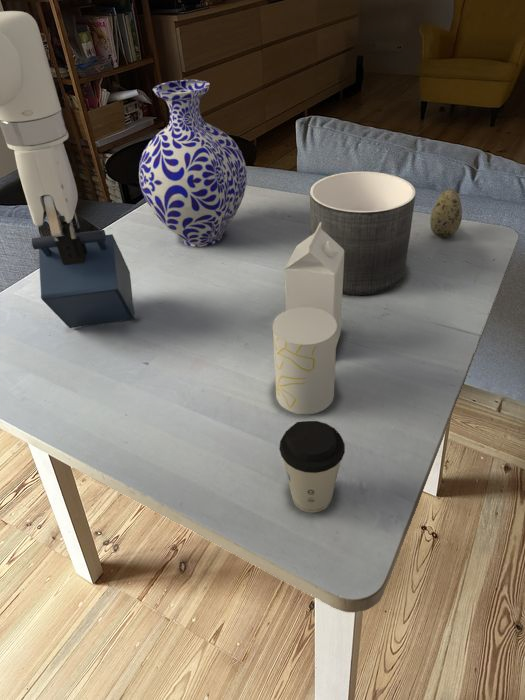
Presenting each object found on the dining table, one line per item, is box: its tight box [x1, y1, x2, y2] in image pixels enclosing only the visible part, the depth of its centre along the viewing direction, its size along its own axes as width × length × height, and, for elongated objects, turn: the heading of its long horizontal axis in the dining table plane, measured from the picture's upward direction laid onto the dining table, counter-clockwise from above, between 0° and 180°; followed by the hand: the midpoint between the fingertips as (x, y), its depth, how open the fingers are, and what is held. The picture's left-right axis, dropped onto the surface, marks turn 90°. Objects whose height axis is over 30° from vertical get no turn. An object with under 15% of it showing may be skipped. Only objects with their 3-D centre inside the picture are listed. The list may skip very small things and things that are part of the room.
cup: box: [272, 307, 337, 415], centre depth 72 cm, size 8×8×12 cm
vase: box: [138, 79, 248, 248], centre depth 107 cm, size 22×22×30 cm
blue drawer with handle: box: [31, 229, 136, 329], centre depth 84 cm, size 18×11×9 cm
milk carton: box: [284, 222, 344, 347], centre depth 79 cm, size 7×7×19 cm
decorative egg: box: [429, 188, 463, 239], centre depth 107 cm, size 6×6×10 cm
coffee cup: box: [278, 420, 346, 514], centre depth 59 cm, size 7×7×10 cm
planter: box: [309, 171, 417, 296], centre depth 96 cm, size 18×18×16 cm
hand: (75, 258), depth 78 cm, fingers closed on blue drawer with handle
